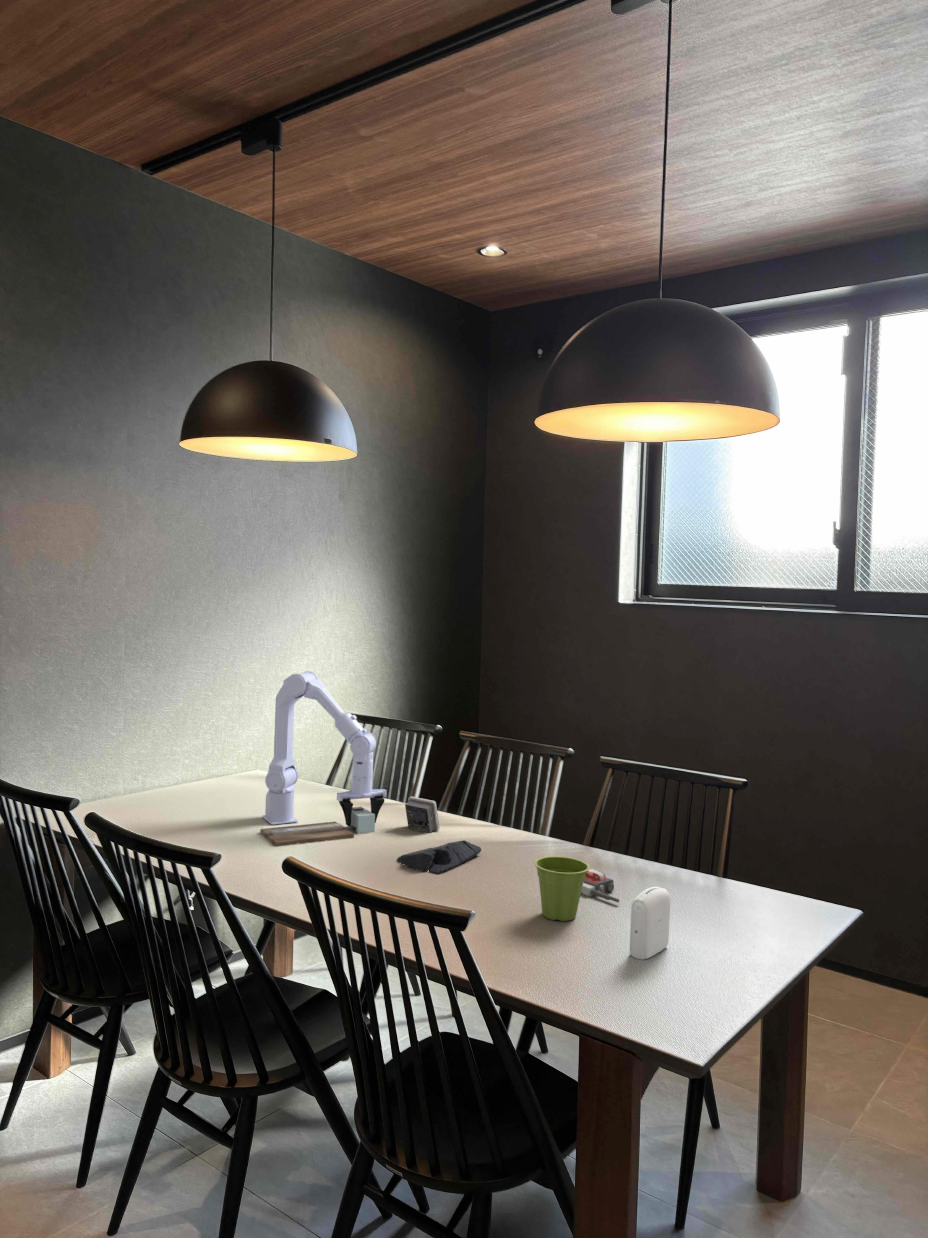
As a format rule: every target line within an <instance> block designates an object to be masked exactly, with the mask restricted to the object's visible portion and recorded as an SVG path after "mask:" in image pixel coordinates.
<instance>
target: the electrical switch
mask: <svg viewBox="0 0 928 1238" xmlns="http://www.w3.org/2000/svg"><path fill="white" fill-rule="evenodd" d="M404 807H405V814H406V815H405V816H406V819H407V820H406V821H407V822H406V823H407V827H408V828H407V829H409V828H410V830H414V831H418V832H419V831H420V832H425V833H428V834H430V833H433V832H434V831H435V832H438V831H439V830H440V821H439V814H438V808H437V807H438V806H437V802H436V801H435V800H430V799H426V798H420V797H417V796H412V795H411V796H410V797H408V802H407V803H405V804H404Z"/></svg>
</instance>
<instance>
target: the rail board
mask: <svg viewBox="0 0 928 1238" xmlns="http://www.w3.org/2000/svg"><path fill="white" fill-rule="evenodd" d="M259 830H260V834H261V835H262V836H264V837H265V838H266V839H267V840H268V841H269V842H270V843H272V844H273V845H274V846H275V847H279V846H280V847H281V846H289V845H290V844H291V845H297V843H300V844H306V843H305V842H309V843H316V842H315V841H318V842H325V840H327V841H336V840H342V839H343V840H345V839H352V838H355V834H354V833H353V832H352V831H350V830H348V829H347V828H346V827H344V825H343V824H341V823H340V822H339V823H338V822H337V821H329V822H328V821H327V822H318V823H308V824H299V825H297V824H296V825H287V826H278V827H268V828H267V827H266V828H260V829H259ZM334 839H335V840H334Z"/></svg>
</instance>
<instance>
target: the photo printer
mask: <svg viewBox="0 0 928 1238" xmlns="http://www.w3.org/2000/svg"><path fill="white" fill-rule="evenodd" d="M630 910H631V911H630V930H629V931H630V933H629V954H630V955H631V957H633V958H634V959H638V960H642V961H643V960H648V959H649V958H651V957H653V956H655V955H656V954H659V952H661V951H664V950H665V949H666V948H667V947H668V946H669V942H670V941H669V938H670V936H669V935H670V912H671V896H670V893H669V892H668V890H667V889H666V888H664V887H660V886H651V887H648V888H647V889H644V890H643V891H641V892H639V894H638V895H637V896H636V897H635V898H634V900H633V901H632V903H631V907H630Z"/></svg>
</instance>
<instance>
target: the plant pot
mask: <svg viewBox="0 0 928 1238" xmlns="http://www.w3.org/2000/svg"><path fill="white" fill-rule="evenodd" d="M533 862H534V866H535V867H536V872H537V876H538V882H539V891H540V892H539V893H540V895H539V896H540V903H541V914H542V915H543V917H545V918H546V919H548V920H552V921H555V920H558V921H561V922H567V921H572V920H574V919H575V918H576V916H577V913H578V908H579V903H580V900H581V899H580V898H581V894H582V893H581V891H582V886H583V882H584V880H585V877H586V873H587V871H588V870H589V869H591V867H590V865H589V864H588V863H587V862H585V861H583V860H581V859H578V858H573V857H568V856H561V855H560V856H559V855H555V856H553V855H552V856H550V855H549V856H544V857H539V858H536V860H535V861H533Z"/></svg>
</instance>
